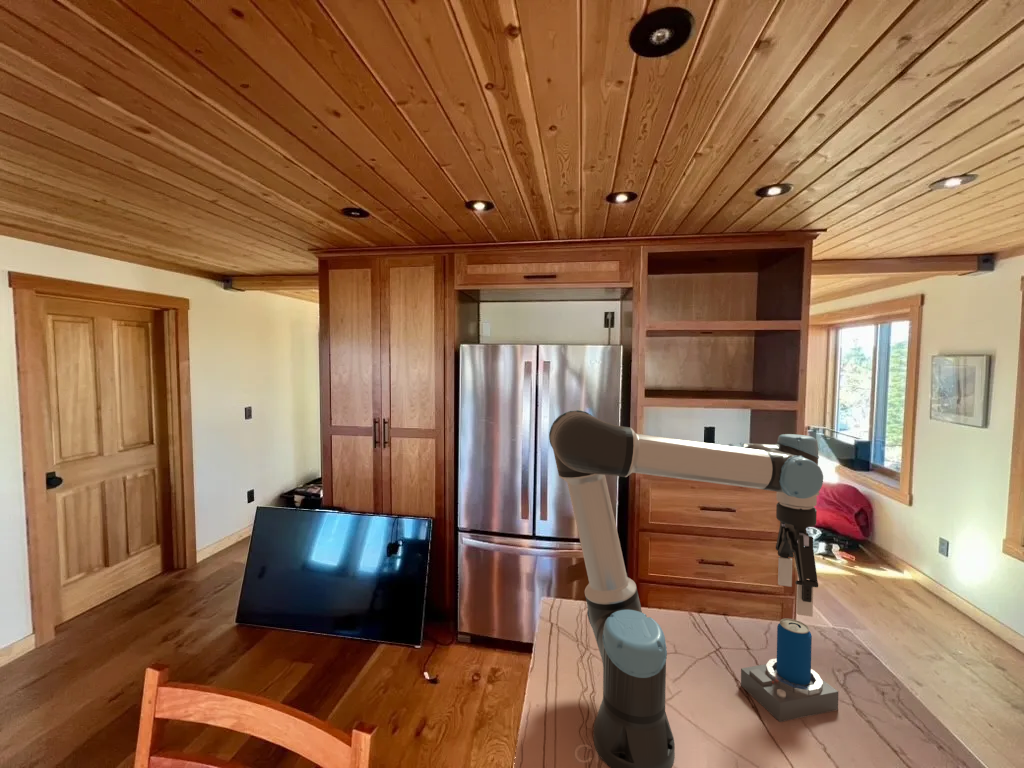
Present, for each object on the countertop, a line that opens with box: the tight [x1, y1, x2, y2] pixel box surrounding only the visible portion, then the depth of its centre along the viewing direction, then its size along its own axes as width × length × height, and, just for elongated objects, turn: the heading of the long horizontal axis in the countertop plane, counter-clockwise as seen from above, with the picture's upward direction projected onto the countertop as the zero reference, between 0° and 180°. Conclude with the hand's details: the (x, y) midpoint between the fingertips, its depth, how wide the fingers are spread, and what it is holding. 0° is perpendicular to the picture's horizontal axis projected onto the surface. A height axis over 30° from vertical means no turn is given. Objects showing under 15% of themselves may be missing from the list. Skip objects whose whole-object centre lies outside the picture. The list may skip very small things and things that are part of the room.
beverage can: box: [776, 618, 813, 686], centre depth 98 cm, size 6×6×12 cm
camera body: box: [740, 663, 839, 723], centre depth 98 cm, size 15×11×5 cm
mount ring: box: [765, 657, 823, 696], centre depth 98 cm, size 10×10×1 cm
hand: (793, 599), depth 98 cm, fingers open, 13 cm apart
